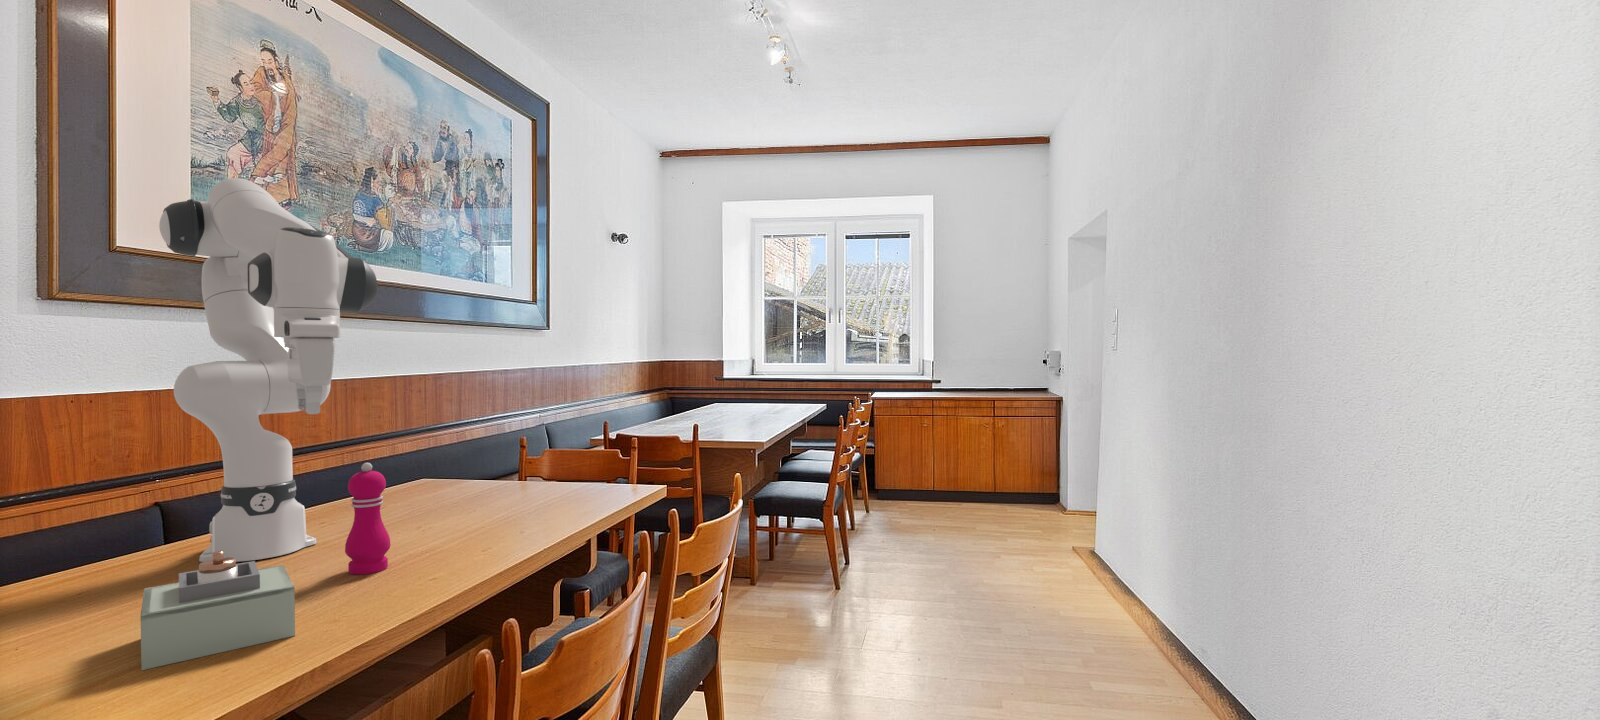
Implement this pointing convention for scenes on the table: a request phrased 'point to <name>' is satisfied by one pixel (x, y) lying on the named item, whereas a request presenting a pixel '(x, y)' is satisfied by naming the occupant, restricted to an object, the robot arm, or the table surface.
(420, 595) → the table surface
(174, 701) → the table surface
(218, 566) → the canister
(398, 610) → the table surface
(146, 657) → the green square holder
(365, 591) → the table surface
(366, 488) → the pepper mill
